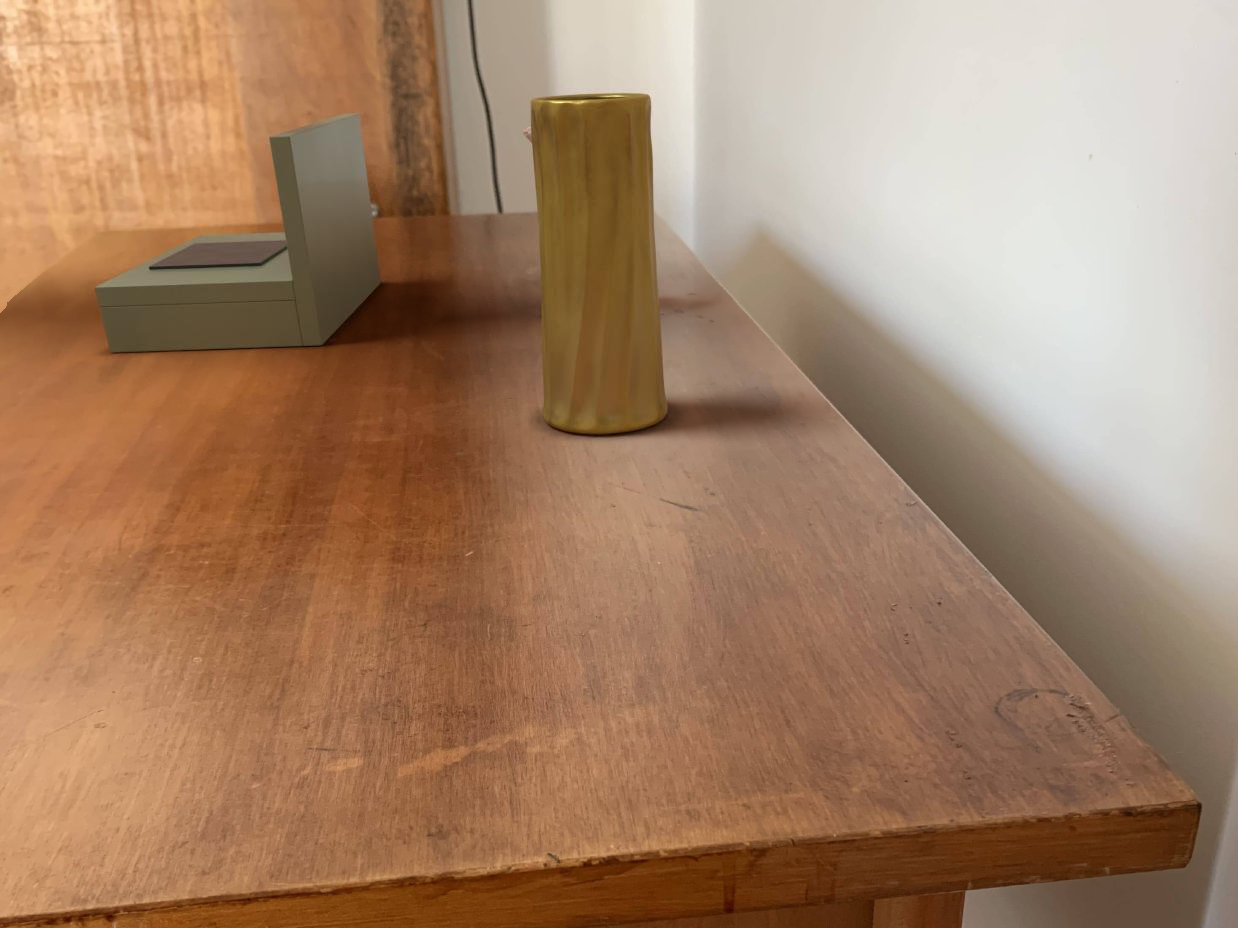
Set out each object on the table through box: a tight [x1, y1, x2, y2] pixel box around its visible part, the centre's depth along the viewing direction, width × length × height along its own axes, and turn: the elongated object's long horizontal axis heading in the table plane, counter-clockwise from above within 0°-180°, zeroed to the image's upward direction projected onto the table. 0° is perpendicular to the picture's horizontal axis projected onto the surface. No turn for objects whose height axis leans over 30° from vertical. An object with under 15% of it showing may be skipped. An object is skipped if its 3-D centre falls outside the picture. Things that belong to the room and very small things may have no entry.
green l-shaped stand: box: [94, 113, 381, 354], centre depth 78 cm, size 13×20×12 cm, turn 1°
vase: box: [530, 92, 669, 435], centre depth 54 cm, size 6×6×14 cm
